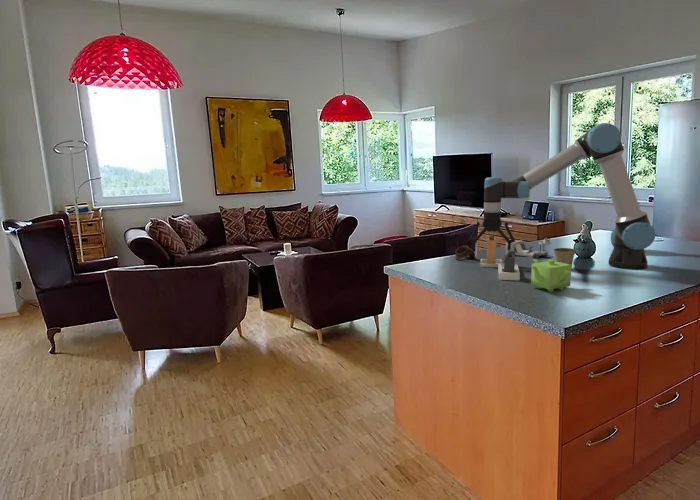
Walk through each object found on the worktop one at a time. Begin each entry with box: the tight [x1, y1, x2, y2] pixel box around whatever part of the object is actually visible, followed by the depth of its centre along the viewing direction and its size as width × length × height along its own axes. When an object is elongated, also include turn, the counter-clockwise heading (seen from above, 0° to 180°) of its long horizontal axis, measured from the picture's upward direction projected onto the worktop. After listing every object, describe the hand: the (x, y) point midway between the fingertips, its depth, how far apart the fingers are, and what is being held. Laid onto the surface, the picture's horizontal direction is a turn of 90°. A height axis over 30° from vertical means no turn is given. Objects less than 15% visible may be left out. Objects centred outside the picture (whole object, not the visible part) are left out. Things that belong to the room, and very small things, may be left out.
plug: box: [486, 234, 497, 264], centre depth 221 cm, size 4×5×14 cm
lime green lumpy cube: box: [530, 258, 572, 293], centre depth 180 cm, size 15×14×11 cm
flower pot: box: [552, 247, 577, 269], centre depth 211 cm, size 9×9×9 cm
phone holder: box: [510, 237, 552, 260], centre depth 240 cm, size 18×10×12 cm
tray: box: [479, 258, 503, 268], centre depth 222 cm, size 10×11×2 cm
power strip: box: [497, 250, 521, 281], centre depth 203 cm, size 8×18×11 cm, turn 164°
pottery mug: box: [454, 245, 477, 260], centre depth 236 cm, size 12×10×8 cm
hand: (491, 256), depth 221 cm, fingers open, 13 cm apart
